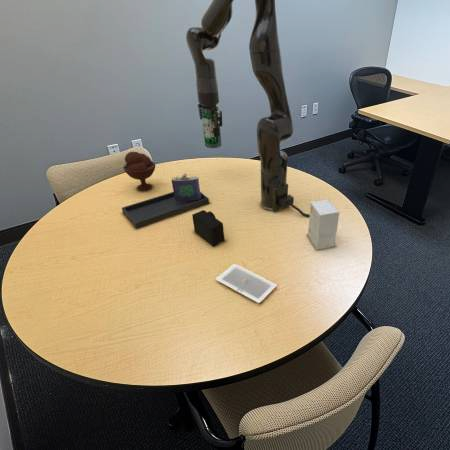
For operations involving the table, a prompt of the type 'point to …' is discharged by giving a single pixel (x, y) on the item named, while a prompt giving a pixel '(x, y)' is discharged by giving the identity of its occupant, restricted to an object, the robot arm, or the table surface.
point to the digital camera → (208, 227)
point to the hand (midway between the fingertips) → (212, 133)
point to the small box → (323, 224)
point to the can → (209, 129)
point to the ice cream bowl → (139, 168)
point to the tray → (159, 209)
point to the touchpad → (246, 282)
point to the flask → (186, 189)
